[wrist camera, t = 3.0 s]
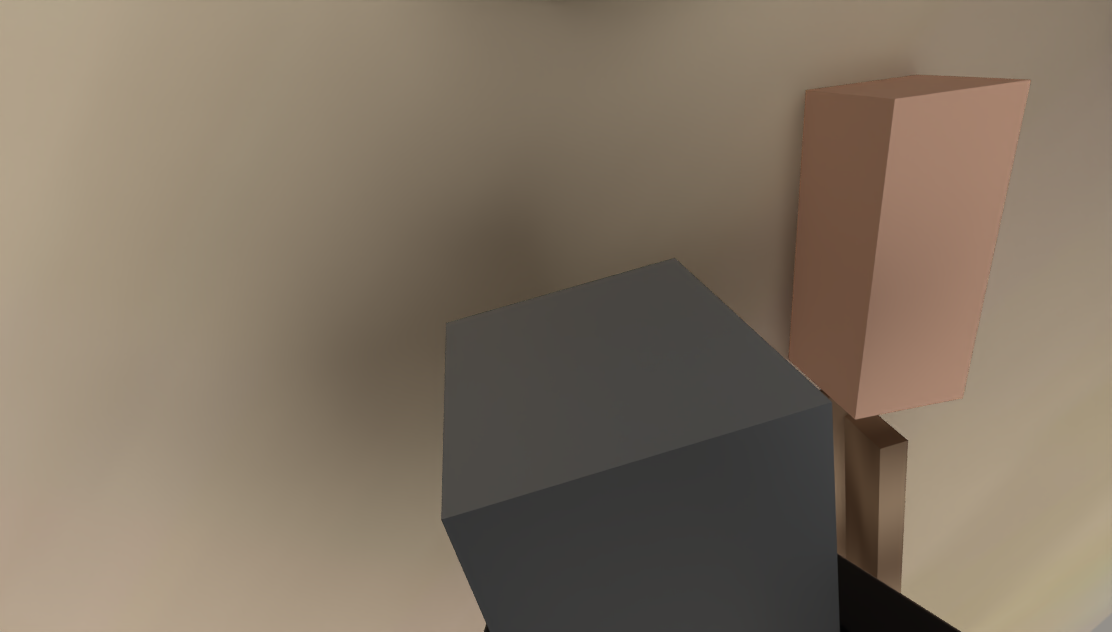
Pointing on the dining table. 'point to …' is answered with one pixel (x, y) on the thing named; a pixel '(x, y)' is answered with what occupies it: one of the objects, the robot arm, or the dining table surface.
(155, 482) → the dining table surface
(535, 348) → the tall slate pillar
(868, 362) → the tall terracotta pillar
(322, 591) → the dining table surface
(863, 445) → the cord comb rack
